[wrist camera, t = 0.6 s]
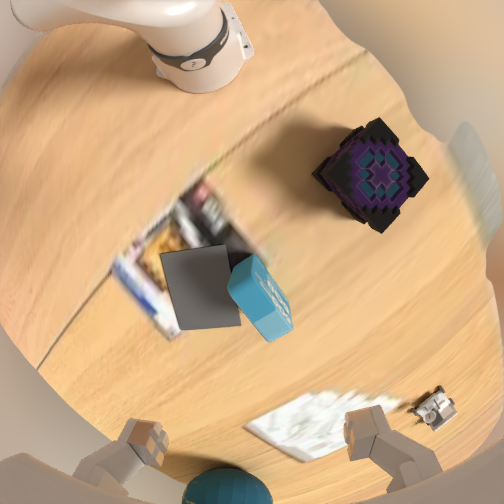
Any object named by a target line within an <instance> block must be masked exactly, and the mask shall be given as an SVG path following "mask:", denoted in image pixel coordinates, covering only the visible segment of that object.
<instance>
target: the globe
mask: <svg viewBox="0 0 504 504" xmlns="http://www.w3.org/2000/svg"><path fill="white" fill-rule="evenodd" d="M182 504H273V499H272V496H271V494H270V492H269V490H268V488H267V487H266V485H265V484H264V483H263V482H262V481H261V480H259V479H258V478H257V477H255V476H254V475H252V474H250V473H247V472H245V471H242V470H238V469H232V468H219V469H213V470H209V471H206V472H204V473H202V474H200V475H198V476H197V477H195V478H194V479H193V480H192V481H190V483H189V484H188V485H187V487H186V489H185V491H184V494H183V497H182Z"/></svg>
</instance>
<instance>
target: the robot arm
mask: <svg viewBox="0 0 504 504" xmlns="http://www.w3.org/2000/svg"><path fill="white" fill-rule="evenodd" d="M10 2H11V9H12V12H13V15H14V17H15V18H16V19H17V21H18V22H20V24H22V25H23V26H25V27H27V28H29V29H32V30H36V31H49V30H52V29H55V28H59V27H62V26H67V25H72V24H81V23H98V24H108V25H114V26H119V27H123V28H126V29H129V30H131V31H133V32H135V33H136V34H137V35H139V36H140V37H141V38H142V39H144V40H145V41H146V42H147V43H148V46H149V48H150V50H151V52H152V53H153V56H152V60H153V62H154V63H155V64H156V65H157V67H156V74H157V75H158V76H159V77H160V78H163V79H167V80H170V81H171V82H173V83H174V84H175V85H176V86H177V87H178V88H180V89H182V90H184V91H187V92H190V93H207V92H212V91H215V90H217V89H220V88H222V87H223V86H225V85H227V84H228V83H229V82H231V81H232V80H233V79H234V78H235V76H236V75H237V74H238V72H239V71H240V69H241V67H242V65H243V64H244V63H245V62H246V61H248V60H249V59H250V58H252V57H253V56H254V54H255V51H254V48H253V46H252V44H251V42H250V40H249V38H248V36H247V34H246V32H245V30H244V28H243V26H242V24H241V22H240V20H239V18H238V16H237V14H236V13H235V11H234V9H233V7H232V5H231V4H230V3H227V2H220V0H10ZM245 46H247V47H248V48H244V47H245ZM345 421H346V422H345V423H344V438H345V442H346V443H347V444H348V449H347V451H348V455H349V459H350V461H355V460H359V459H364V458H368V457H369V458H370V459H371V460H372V461H373V462H374V463H376V464H377V465H378V466H379V467H381V468H382V469H383V470H384V471H386V472H387V473H388V474H389V475H391V476H392V477H393V479H392V481H391V483H390V484H389V486H388V488H387V489H386V490H387V494H384V495H381V496H378V497H374V498H371V499H367V500H363V501H359V502H355V503H350V504H504V436H503V437H501V438H500V439H498V440H497V441H496V442H494V443H493V444H491V445H489V446H488V447H486V448H485V449H483V450H482V451H480V452H478V453H477V454H475V455H473V456H472V457H470V458H468V459H466V460H464V461H463V462H461V463H459V464H457V465H455V466H453V467H451V468H449V469H447V470H445V471H442V469H441V466H440V464H439V462H438V460H437V458H436V456H435V454H434V451H433V450H431V449H429V448H427V447H425V446H423V445H421V444H419V443H417V442H416V441H414V440H412V439H410V438H408V437H406V436H405V435H403V434H401V433H399V432H398V431H396V430H391V428H390V426H389V423H388V421H387V419H386V416H385V414H384V412H383V409H382V407H381V406H380V405H376V406H372V407H367V408H363V409H359V410H355V411H351V412H346V414H345ZM168 445H169V439H168V435H167V434H166V432H164V431H163V430H162V425H161V424H160V422H154V421H147V420H140V419H134V418H130V419H129V420H128V421H127V423H126V425H125V427H124V428H123V430H122V432H121V434H120V436H119V438H118V440H117V441H115V440H114V441H113V442H111V443H110V444H108V445H106V446H105V447H103V448H101V449H99V450H98V451H96V452H94V453H93V454H91V455H89V456H87V457H85V458H84V459H82V460H81V461H80V463H79V465H78V467H77V468H76V470H75V472H74V474H73V476H70V475H67V474H65V473H63V472H61V471H59V470H57V469H55V468H53V467H51V466H49V465H47V464H45V463H43V462H41V461H40V460H38V459H36V458H34V457H33V456H31V455H29V454H27V453H20V454H17V455H14V456H11V457H9V458H6V459H4V460H3V461H1V462H0V504H153V503H149V502H145V501H141V500H137V499H133V498H130V497H128V491H127V490H126V489H125V488H123V486H121V485H123V484H124V483H125V482H126V481H128V480H129V479H130V478H131V477H132V476H134V475H135V474H136V473H137V472H138V471H139V470H141V469H142V468H143V467H144V466H145V464H146V465H152V466H158V467H161V466H162V463H163V460H164V457H165V456H164V454H163V452H165V451H166V450H167V448H168Z"/></svg>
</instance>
